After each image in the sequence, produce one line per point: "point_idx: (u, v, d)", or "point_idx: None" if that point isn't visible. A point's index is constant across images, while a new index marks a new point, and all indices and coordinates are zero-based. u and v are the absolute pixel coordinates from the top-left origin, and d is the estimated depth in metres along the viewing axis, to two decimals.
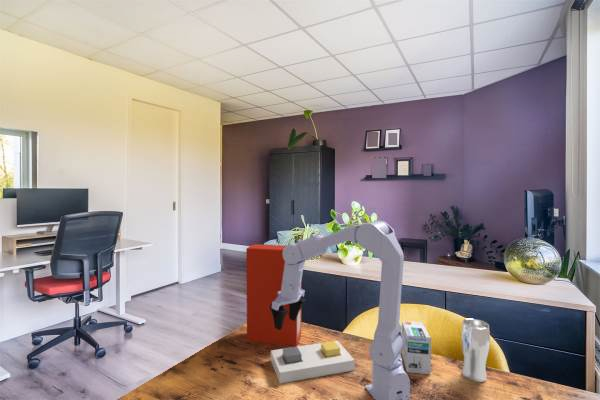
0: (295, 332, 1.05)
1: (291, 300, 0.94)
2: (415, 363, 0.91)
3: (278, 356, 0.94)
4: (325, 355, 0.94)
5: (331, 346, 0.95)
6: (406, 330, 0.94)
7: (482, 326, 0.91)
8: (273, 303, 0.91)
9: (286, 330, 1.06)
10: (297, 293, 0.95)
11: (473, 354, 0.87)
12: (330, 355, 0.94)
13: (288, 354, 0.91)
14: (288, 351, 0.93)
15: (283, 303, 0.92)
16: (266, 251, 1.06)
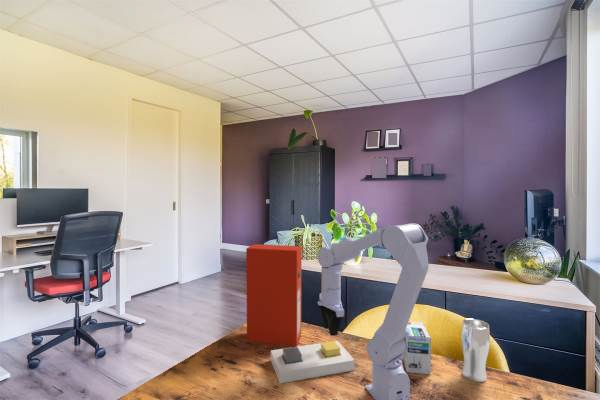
0: (295, 332, 1.05)
1: (340, 302, 0.94)
2: (415, 363, 0.91)
3: (278, 356, 0.94)
4: (325, 355, 0.94)
5: (331, 346, 0.95)
6: None
7: (482, 326, 0.91)
8: (339, 311, 0.88)
9: (286, 330, 1.06)
10: None
11: (473, 354, 0.87)
12: (330, 355, 0.94)
13: (288, 354, 0.91)
14: (288, 351, 0.93)
15: None
16: (266, 251, 1.06)
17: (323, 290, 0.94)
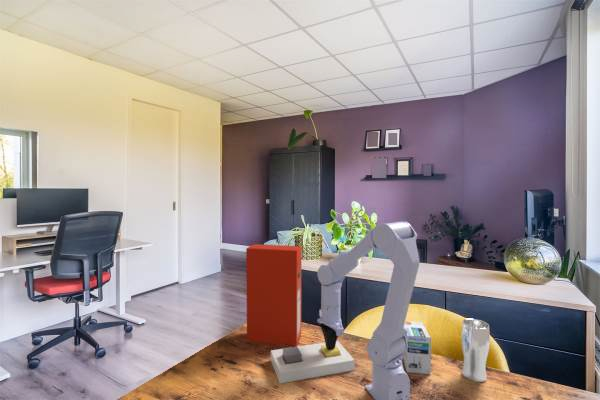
0: (295, 332, 1.05)
1: (340, 320, 0.94)
2: (415, 363, 0.91)
3: (278, 356, 0.94)
4: None
5: None
6: None
7: (482, 326, 0.91)
8: (339, 330, 0.89)
9: (286, 330, 1.06)
10: None
11: (473, 354, 0.87)
12: None
13: (288, 354, 0.91)
14: (288, 351, 0.93)
15: (341, 325, 0.91)
16: (266, 251, 1.06)
17: (323, 308, 0.94)
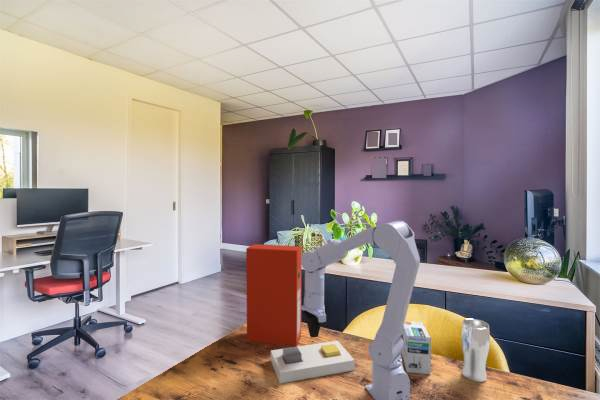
0: (295, 332, 1.05)
1: (323, 307, 0.93)
2: (415, 363, 0.91)
3: (278, 356, 0.94)
4: None
5: (331, 349, 0.95)
6: (406, 330, 0.94)
7: (482, 326, 0.91)
8: (321, 316, 0.87)
9: (286, 330, 1.06)
10: None
11: (473, 354, 0.87)
12: None
13: (288, 354, 0.91)
14: (288, 351, 0.93)
15: (324, 312, 0.90)
16: (266, 251, 1.06)
17: (306, 295, 0.92)
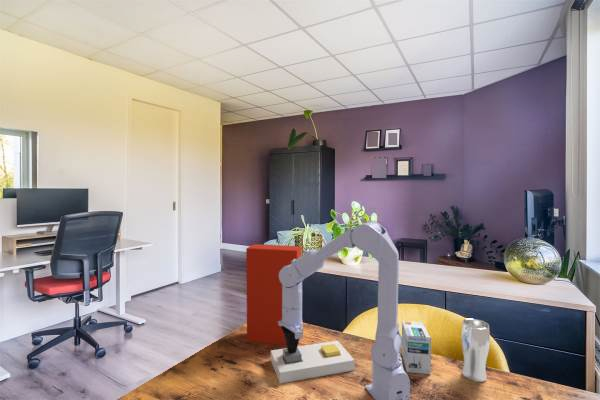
0: None
1: (301, 322, 0.91)
2: (415, 363, 0.91)
3: (278, 356, 0.94)
4: None
5: (331, 349, 0.95)
6: (406, 330, 0.94)
7: (482, 326, 0.91)
8: (297, 333, 0.85)
9: None
10: None
11: (473, 354, 0.87)
12: None
13: (288, 354, 0.91)
14: None
15: (301, 328, 0.88)
16: (266, 251, 1.06)
17: (283, 310, 0.91)
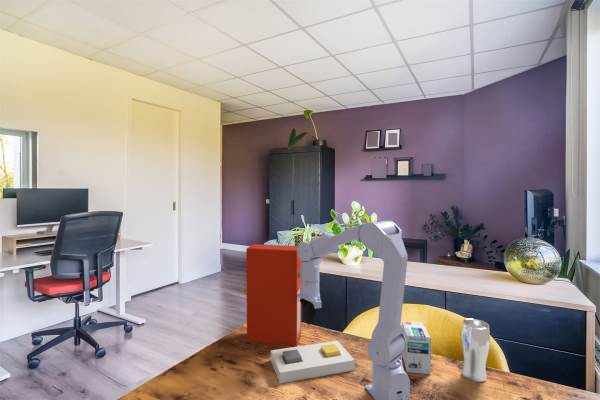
0: (295, 332, 1.05)
1: (319, 295, 0.98)
2: (415, 363, 0.91)
3: (278, 356, 0.94)
4: None
5: (331, 349, 0.95)
6: (406, 330, 0.94)
7: (482, 326, 0.91)
8: (316, 303, 0.92)
9: (286, 330, 1.06)
10: None
11: (473, 354, 0.87)
12: None
13: (288, 356, 0.91)
14: (288, 354, 0.93)
15: None
16: (266, 251, 1.06)
17: (302, 283, 0.98)
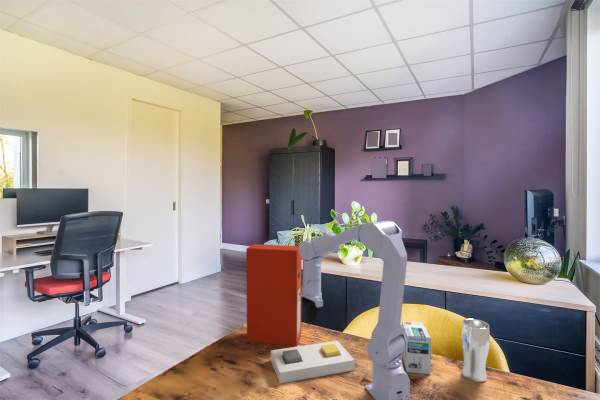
0: (295, 332, 1.05)
1: (320, 294, 0.99)
2: (415, 363, 0.91)
3: (278, 356, 0.94)
4: None
5: (331, 349, 0.95)
6: (406, 330, 0.94)
7: (482, 326, 0.91)
8: (318, 301, 0.93)
9: (286, 330, 1.06)
10: None
11: (473, 354, 0.87)
12: None
13: (288, 356, 0.91)
14: (288, 354, 0.93)
15: (321, 298, 0.96)
16: (266, 251, 1.06)
17: (304, 282, 0.98)
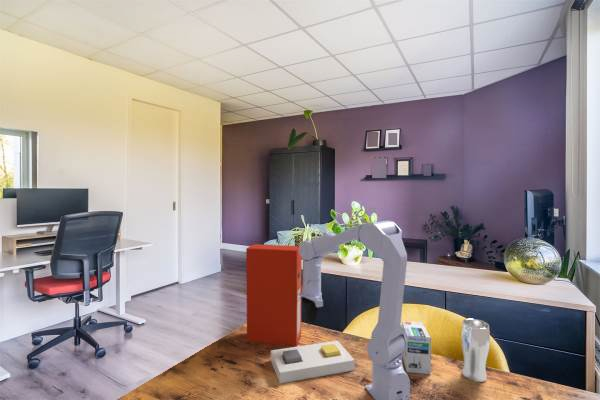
0: (295, 332, 1.05)
1: (320, 294, 0.99)
2: (415, 363, 0.91)
3: (278, 356, 0.94)
4: None
5: (331, 349, 0.95)
6: (406, 330, 0.94)
7: (482, 326, 0.91)
8: (318, 301, 0.93)
9: (286, 330, 1.06)
10: None
11: (473, 354, 0.87)
12: None
13: (288, 356, 0.91)
14: (288, 354, 0.93)
15: (321, 298, 0.96)
16: (266, 251, 1.06)
17: (304, 282, 0.98)
